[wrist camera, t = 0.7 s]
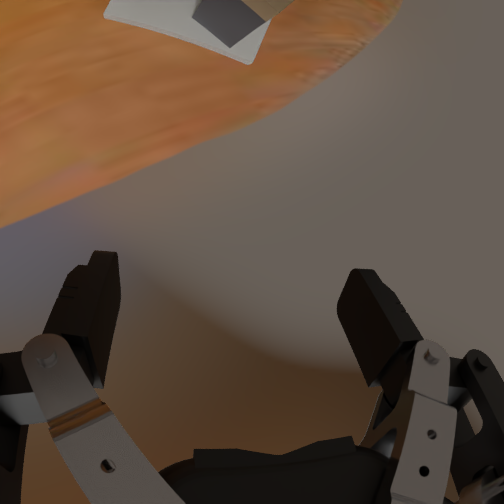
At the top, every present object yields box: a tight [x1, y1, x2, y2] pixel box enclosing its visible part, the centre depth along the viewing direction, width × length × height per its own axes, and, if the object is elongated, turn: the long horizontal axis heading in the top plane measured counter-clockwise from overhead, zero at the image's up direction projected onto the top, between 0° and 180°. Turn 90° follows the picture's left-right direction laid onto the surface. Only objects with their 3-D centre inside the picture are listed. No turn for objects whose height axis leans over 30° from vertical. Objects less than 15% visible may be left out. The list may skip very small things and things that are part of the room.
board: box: [104, 0, 272, 65], centre depth 21 cm, size 14×8×1 cm, turn 69°
